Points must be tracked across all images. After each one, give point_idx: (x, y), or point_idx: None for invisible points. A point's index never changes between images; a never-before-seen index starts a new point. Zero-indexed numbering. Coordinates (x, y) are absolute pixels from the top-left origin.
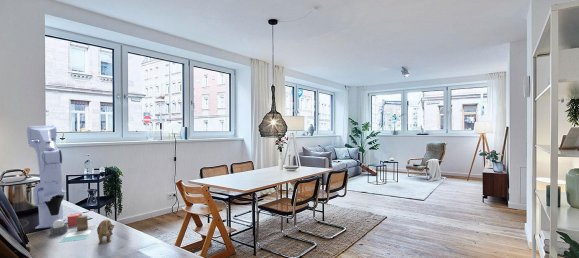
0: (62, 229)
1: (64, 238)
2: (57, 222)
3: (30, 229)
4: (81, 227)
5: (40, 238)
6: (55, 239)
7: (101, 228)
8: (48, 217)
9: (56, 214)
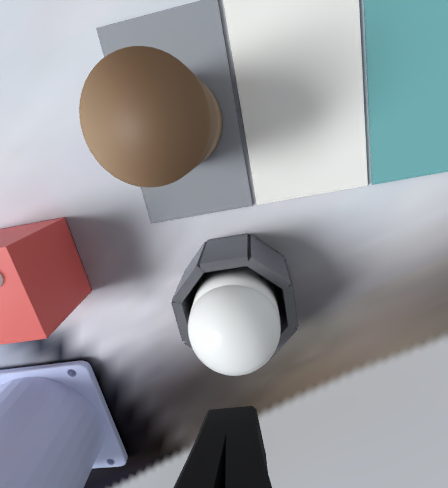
0: (269, 259)
1: (399, 170)
2: (269, 336)
3: (128, 475)
4: (218, 110)
5: (318, 353)
6: (383, 240)
7: None
8: (63, 472)
9: (255, 420)
